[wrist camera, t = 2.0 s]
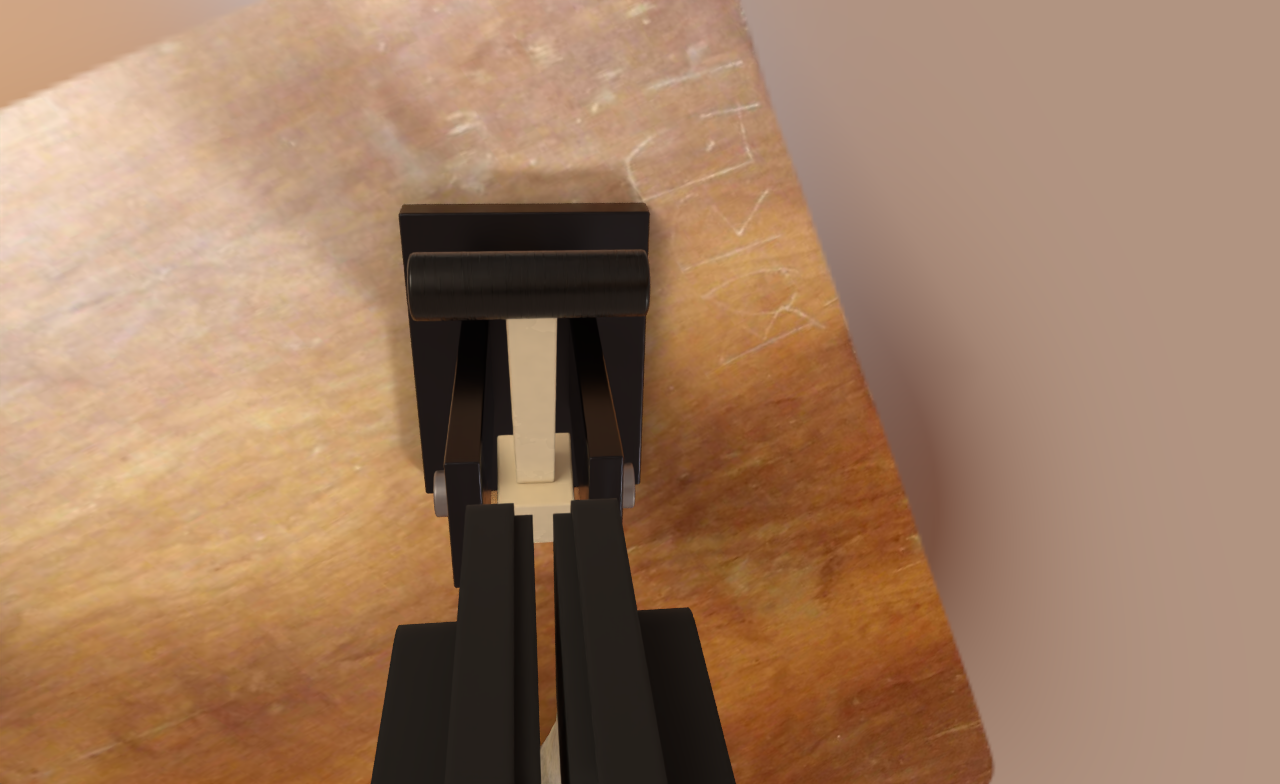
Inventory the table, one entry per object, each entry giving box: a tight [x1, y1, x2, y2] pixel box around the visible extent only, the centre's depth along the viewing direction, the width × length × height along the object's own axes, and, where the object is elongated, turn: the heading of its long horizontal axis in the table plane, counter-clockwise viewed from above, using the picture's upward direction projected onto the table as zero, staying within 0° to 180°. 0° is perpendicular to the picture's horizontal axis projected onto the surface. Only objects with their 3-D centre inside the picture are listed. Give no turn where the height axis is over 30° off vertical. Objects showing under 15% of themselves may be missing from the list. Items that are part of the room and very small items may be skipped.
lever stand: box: [399, 203, 650, 588], centre depth 32 cm, size 12×9×12 cm
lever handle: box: [407, 250, 650, 543], centre depth 24 cm, size 12×5×2 cm
